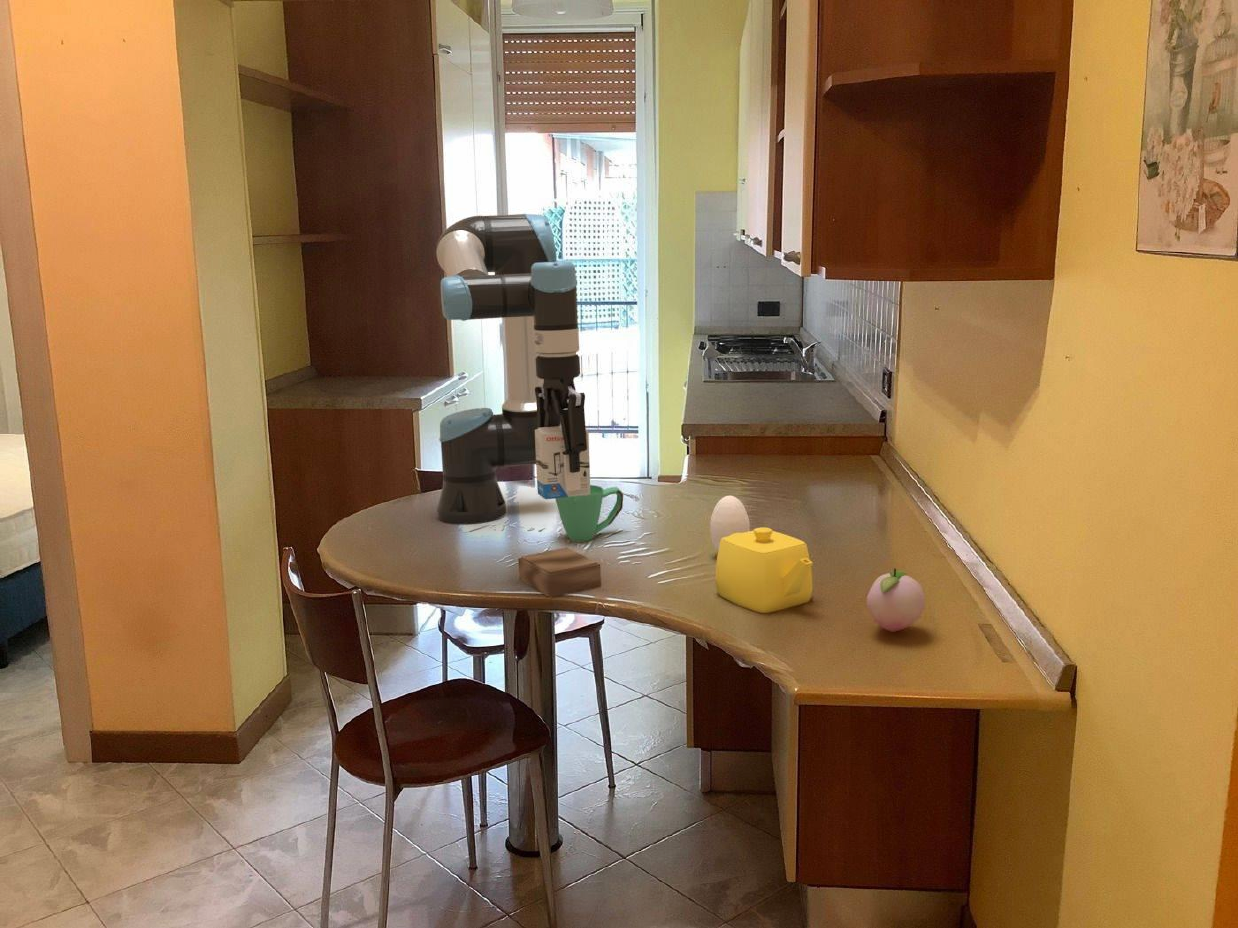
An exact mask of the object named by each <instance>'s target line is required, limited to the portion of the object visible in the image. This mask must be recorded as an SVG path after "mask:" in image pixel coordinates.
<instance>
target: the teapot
mask: <svg viewBox="0 0 1238 928" xmlns="http://www.w3.org/2000/svg"><path fill="white" fill-rule="evenodd" d="M813 564H814V563H813V561H811V559H810V555H809V550H808V545H807V543H806V542H805V541H803V540H801V539H798V538H796V537H793V536H790V535H788V534H784V533H782V532H778V531H774V530H773V529H772V528H770V527H756V528H754V529H753V530H750V531H749V532H744V533H734V534H732V535H730V536H727V537H723V538H722V539H721V541H720V545H719V551H718V550H717V557H716V564H715V586H716V591H717V594H718V595H719V596H720V597H721V598H723V599H724V600H727V601H729V602H731V603H733V604H734V605H737V606H739V607H742V608H745V609H748V610H750V611H753V612H756V613H760V614H768V613H769V614H771V613H774V612H778V611H781V610H784V609H785V610H786V609H790V608H792V607H796V606H799V605H802V604H805V603H808V602H810V600H811V597H812V594H813V587H814V586H813V573H812V572H813V571H812V567H813Z"/></svg>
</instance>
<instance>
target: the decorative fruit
mask: <svg viewBox="0 0 1238 928" xmlns="http://www.w3.org/2000/svg"><path fill="white" fill-rule="evenodd" d="M866 606H867V608H868V611H869V613H870V615H871V617H872V620H874V622H875V623H877V625H878V626H880V627H881V628H882V629H885V630H887V631H888V632H891V633H896V632H897V631H901V630H905V629H907V628H908V627H910V626H912V624H914V623H916V622H917V621H918V620H919V619H920V618H921V616H922V615H923V613H924V611H925V607H926V596H925V592H924V589H923V588H922V586H921V584H920V582H918V581H917V580H916V579H915V578H913V577H911V576H909V575H908V574H907V572H906V571H904V570H897V568H896V567H894V568H893V570H892V571H890V572H889V573H885V574H882V575H880V576H878V577H877V578H876V579H875V580H874V582H873V584H872V585H871V587H870V590H869V592H868V594H867V596H866Z"/></svg>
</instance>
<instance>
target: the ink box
mask: <svg viewBox="0 0 1238 928" xmlns="http://www.w3.org/2000/svg"><path fill="white" fill-rule="evenodd" d="M586 440H587V450H584V451H582V452H581V453H580V480H581V489H580V490H574V491H569V492H567V491H565V478H564V458H563V453H562V452H564V451H566V449H565V443H564V438H563V433H562V428H561V426H556V427H541V428H538V429H536V430H535V447H536V464H535V465H536V466H535V467H536V484H537V485H536V486H537V494H538V495H539V497H541V498H543V499H544V500H553V499H555V498H563V497H573V496H583V495H590V485H591V466H590V439H589V429H587V428H586Z"/></svg>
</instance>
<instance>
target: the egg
mask: <svg viewBox="0 0 1238 928" xmlns="http://www.w3.org/2000/svg"><path fill="white" fill-rule="evenodd" d="M750 524H751V523H750V518H749V516H748V513H747V510H746V508H745V506H744V504H743V503H742V501H741V500H740V499H739V498H737V497H735V496H734V495H726V496H723V497H721V498H720V499H719V501H718V502H717V503H716V505H715V507H714V509H713V510H712V513H711V518H710V522H709V534H710V540H711V542H712V544H713V546H714V548H715V549H716V550H717V552H718V551H719V545H720V541H721V539H722V538H723V537H727V536H730V535H732V534H734V533H744V532H749V531H751V527H750Z"/></svg>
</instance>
